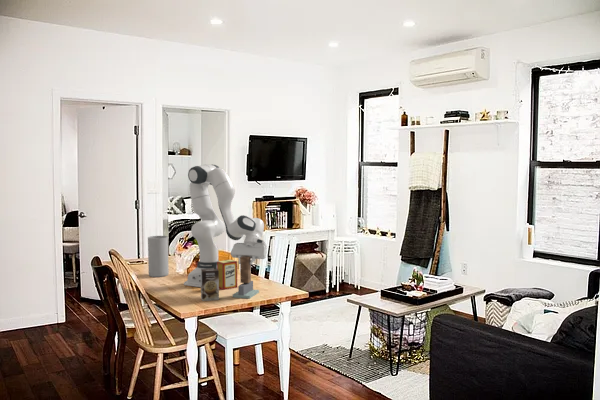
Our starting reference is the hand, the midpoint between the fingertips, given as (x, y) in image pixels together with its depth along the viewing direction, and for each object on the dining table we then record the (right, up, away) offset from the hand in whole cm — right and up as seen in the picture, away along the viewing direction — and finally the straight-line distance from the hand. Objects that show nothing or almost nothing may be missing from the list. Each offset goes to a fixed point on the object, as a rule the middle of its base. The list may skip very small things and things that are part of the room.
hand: (245, 263), depth 303 cm
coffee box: (-18, -18, -7) cm, 27 cm away
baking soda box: (-12, -16, +19) cm, 28 cm away
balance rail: (0, -17, +2) cm, 18 cm away
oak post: (0, -10, +1) cm, 10 cm away
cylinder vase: (-61, -14, +54) cm, 83 cm away
